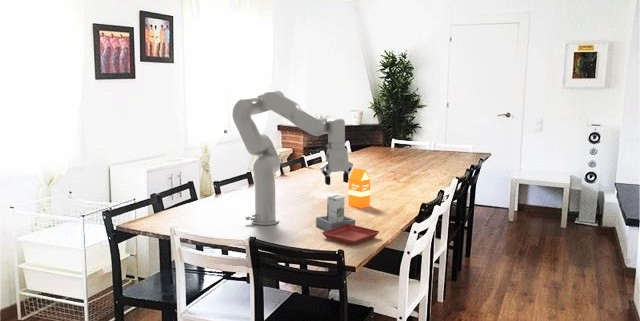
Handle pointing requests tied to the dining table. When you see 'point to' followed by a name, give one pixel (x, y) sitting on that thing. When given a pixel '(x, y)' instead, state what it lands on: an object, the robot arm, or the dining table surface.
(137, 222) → the dining table surface
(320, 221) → the bin
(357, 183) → the orange juice
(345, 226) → the plant saucer
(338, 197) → the syrup box
